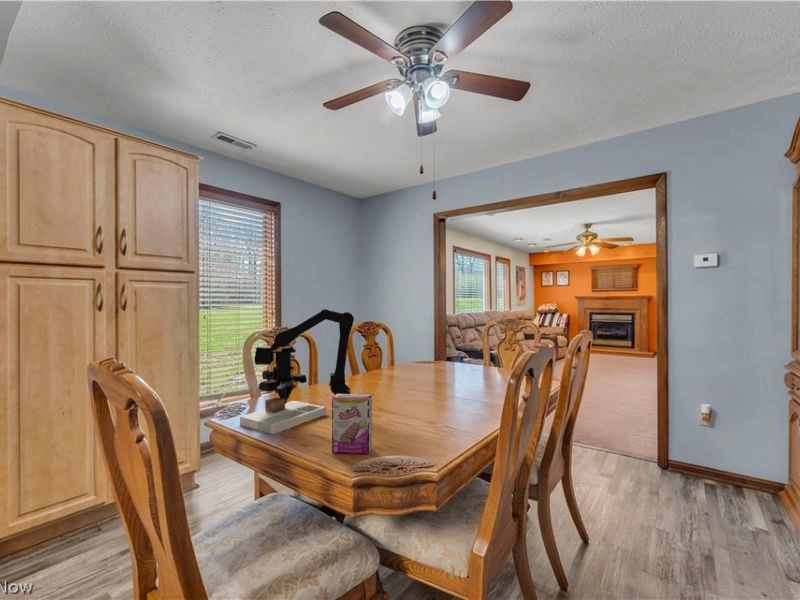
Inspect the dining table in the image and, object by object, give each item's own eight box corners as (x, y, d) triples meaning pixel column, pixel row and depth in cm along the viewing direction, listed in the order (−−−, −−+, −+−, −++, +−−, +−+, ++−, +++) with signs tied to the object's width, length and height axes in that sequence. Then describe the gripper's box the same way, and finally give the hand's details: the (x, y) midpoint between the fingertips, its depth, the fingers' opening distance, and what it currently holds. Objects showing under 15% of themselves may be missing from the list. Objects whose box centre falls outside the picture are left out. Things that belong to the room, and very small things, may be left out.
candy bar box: (331, 454, 110) (331, 397, 110) (336, 447, 115) (335, 393, 115) (369, 455, 109) (369, 398, 109) (372, 448, 114) (372, 393, 114)
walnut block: (285, 409, 145) (284, 399, 145) (274, 412, 141) (274, 402, 141) (276, 407, 148) (276, 397, 148) (265, 410, 143) (265, 400, 143)
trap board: (326, 414, 148) (326, 407, 148) (273, 434, 127) (273, 425, 127) (294, 407, 158) (294, 400, 158) (239, 425, 137) (239, 416, 137)
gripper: (288, 359, 160) (288, 396, 160) (249, 365, 144) (249, 407, 144) (307, 361, 154) (307, 400, 154) (268, 368, 138) (268, 411, 138)
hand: (283, 404), depth 148 cm, fingers closed
